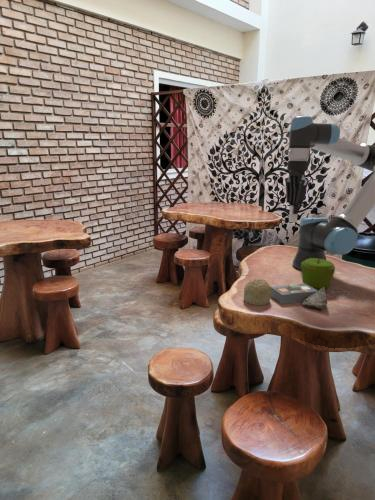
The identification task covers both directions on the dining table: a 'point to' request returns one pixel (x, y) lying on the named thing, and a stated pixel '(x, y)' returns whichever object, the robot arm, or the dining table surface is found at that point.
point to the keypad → (291, 294)
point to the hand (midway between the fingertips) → (292, 221)
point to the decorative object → (257, 292)
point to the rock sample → (316, 300)
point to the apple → (317, 272)
